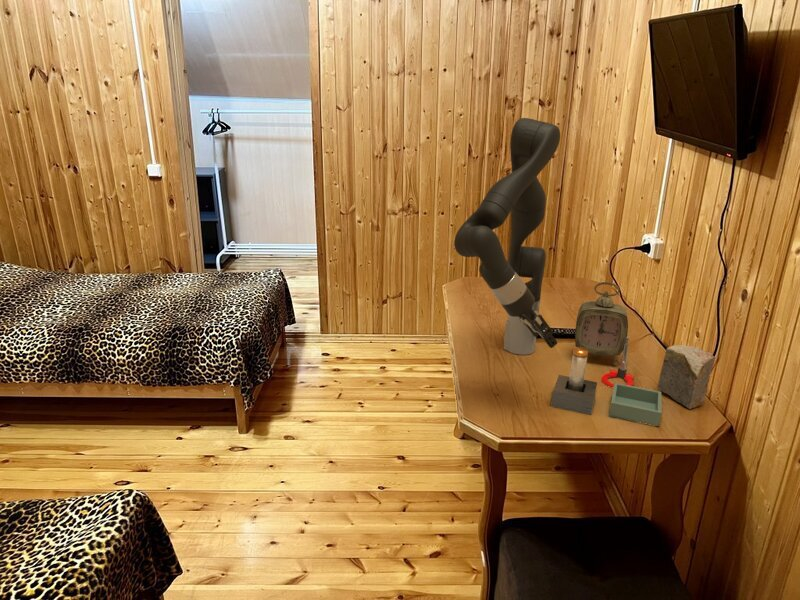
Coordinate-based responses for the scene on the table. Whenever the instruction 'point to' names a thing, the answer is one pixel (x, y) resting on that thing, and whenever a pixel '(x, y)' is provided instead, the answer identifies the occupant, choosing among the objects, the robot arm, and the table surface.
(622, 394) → the tray
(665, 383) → the geological specimen
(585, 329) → the tabletop clock
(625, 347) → the tow hook
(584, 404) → the block
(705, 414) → the table surface
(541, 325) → the robot arm
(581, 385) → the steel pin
